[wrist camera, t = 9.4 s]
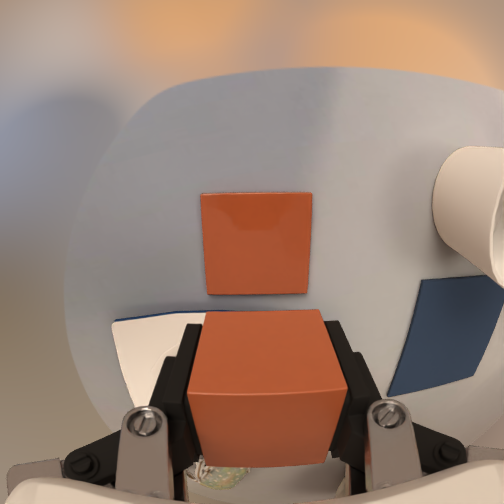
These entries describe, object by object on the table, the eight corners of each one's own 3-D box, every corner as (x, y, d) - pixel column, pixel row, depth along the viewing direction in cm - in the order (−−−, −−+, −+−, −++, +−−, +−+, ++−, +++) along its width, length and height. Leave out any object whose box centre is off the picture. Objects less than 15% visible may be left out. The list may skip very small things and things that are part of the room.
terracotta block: (206, 310, 10) (186, 392, 7) (319, 308, 10) (349, 388, 7) (215, 389, 12) (205, 466, 8) (309, 386, 12) (324, 463, 8)
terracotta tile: (201, 193, 21) (200, 194, 21) (310, 191, 21) (312, 193, 21) (208, 291, 24) (207, 294, 24) (306, 290, 24) (307, 293, 24)
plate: (153, 432, 31) (149, 448, 29) (110, 296, 24) (98, 311, 22) (314, 436, 31) (317, 452, 29) (342, 297, 24) (351, 314, 22)
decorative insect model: (163, 455, 32) (166, 485, 28) (237, 436, 33) (245, 468, 28) (192, 474, 36) (196, 500, 32) (256, 457, 37) (265, 484, 32)
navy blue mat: (421, 279, 24) (423, 281, 24) (510, 272, 24) (512, 273, 23) (386, 395, 29) (387, 397, 29) (472, 374, 29) (473, 375, 29)
